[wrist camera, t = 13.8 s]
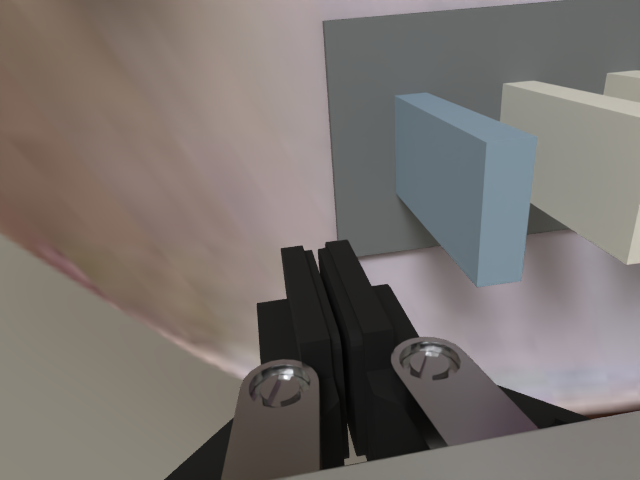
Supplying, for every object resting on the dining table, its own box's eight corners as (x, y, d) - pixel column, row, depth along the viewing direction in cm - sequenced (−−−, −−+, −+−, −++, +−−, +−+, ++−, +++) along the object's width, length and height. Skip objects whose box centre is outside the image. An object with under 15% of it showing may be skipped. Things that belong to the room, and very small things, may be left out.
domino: (533, 80, 24) (705, 116, 15) (523, 176, 26) (668, 259, 17) (503, 83, 24) (657, 121, 15) (495, 180, 26) (626, 265, 17)
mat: (900, -29, 25) (912, -30, 24) (816, 192, 30) (825, 195, 29) (322, 21, 22) (324, 20, 22) (338, 254, 27) (339, 258, 27)
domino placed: (426, 92, 24) (537, 136, 15) (425, 189, 26) (521, 280, 17) (394, 95, 23) (486, 142, 14) (395, 193, 26) (476, 287, 17)
